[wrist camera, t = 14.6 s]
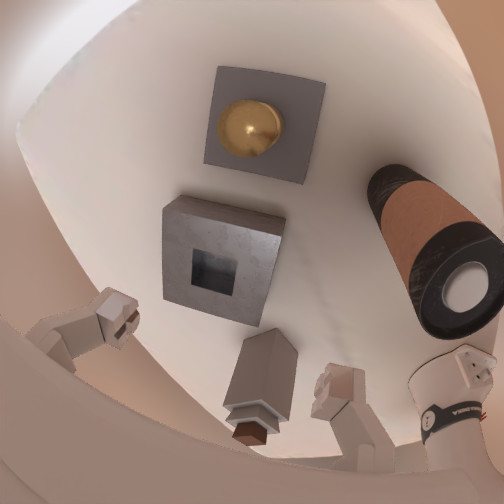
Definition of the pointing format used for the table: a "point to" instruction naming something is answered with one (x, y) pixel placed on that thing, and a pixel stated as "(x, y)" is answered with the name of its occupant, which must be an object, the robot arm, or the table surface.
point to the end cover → (249, 127)
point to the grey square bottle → (261, 387)
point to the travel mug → (439, 253)
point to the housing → (218, 257)
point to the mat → (287, 102)
